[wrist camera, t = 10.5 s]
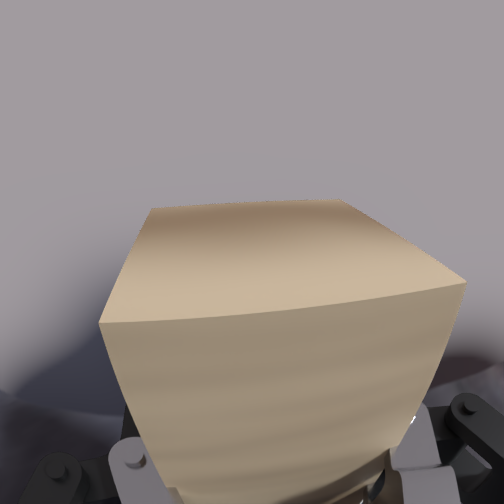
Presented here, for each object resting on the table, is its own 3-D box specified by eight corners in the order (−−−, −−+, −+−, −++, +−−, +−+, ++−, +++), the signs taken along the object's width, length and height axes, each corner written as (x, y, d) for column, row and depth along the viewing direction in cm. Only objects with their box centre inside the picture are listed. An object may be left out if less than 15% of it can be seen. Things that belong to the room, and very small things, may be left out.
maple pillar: (333, 536, 9) (467, 282, 4) (210, 557, 8) (98, 322, 3) (304, 451, 13) (339, 199, 9) (200, 465, 12) (151, 208, 8)
